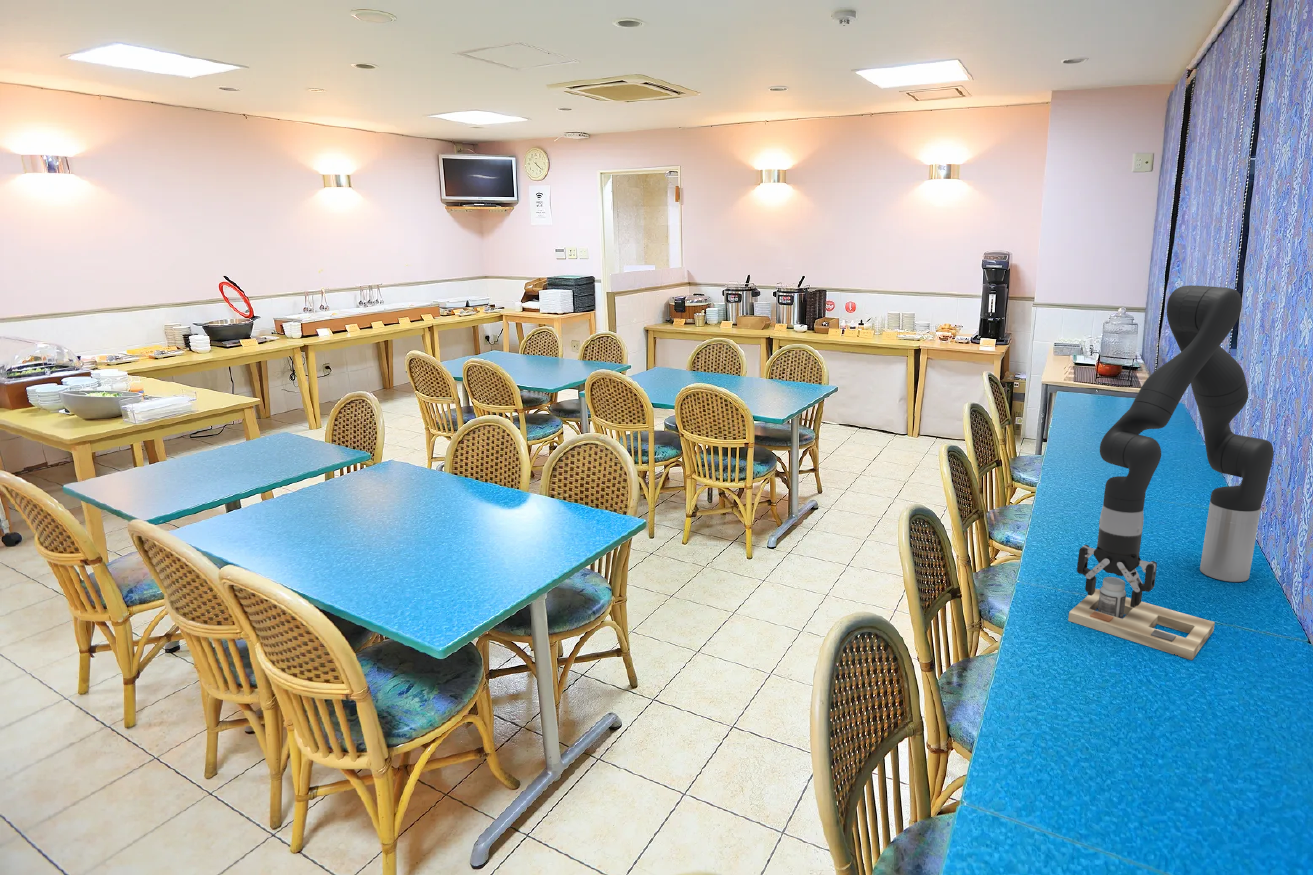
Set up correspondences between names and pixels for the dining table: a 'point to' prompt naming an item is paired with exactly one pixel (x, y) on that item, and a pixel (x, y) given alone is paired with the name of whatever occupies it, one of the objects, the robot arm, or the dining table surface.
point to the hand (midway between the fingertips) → (1111, 599)
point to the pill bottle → (1112, 597)
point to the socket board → (1146, 625)
